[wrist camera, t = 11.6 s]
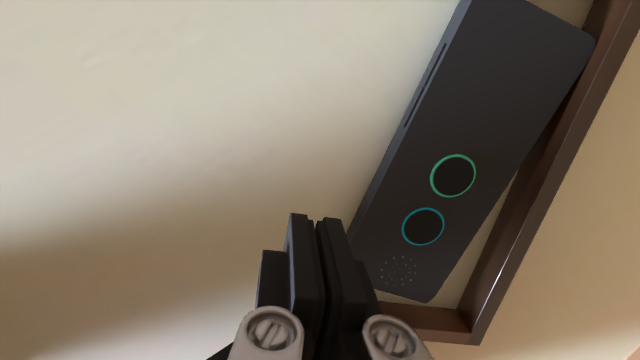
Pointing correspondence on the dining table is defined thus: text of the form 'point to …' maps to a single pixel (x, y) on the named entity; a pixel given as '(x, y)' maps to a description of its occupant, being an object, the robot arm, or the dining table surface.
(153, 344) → the dining table surface
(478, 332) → the dock
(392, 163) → the smart home device
